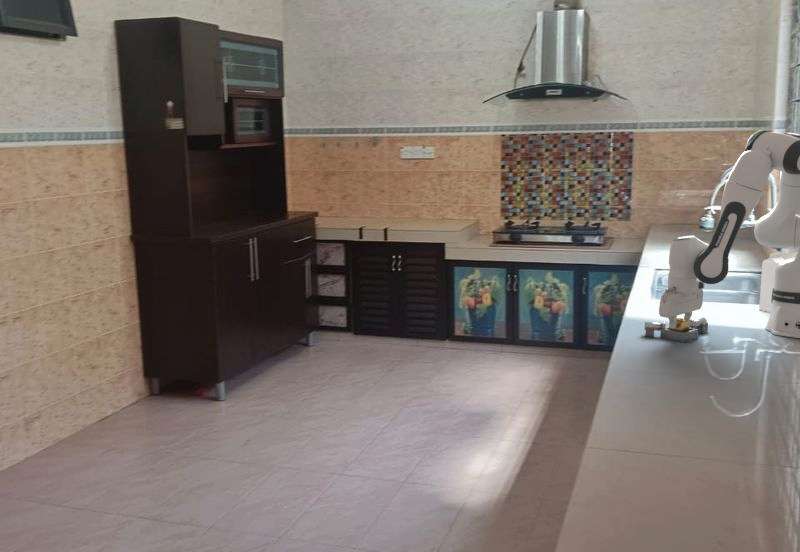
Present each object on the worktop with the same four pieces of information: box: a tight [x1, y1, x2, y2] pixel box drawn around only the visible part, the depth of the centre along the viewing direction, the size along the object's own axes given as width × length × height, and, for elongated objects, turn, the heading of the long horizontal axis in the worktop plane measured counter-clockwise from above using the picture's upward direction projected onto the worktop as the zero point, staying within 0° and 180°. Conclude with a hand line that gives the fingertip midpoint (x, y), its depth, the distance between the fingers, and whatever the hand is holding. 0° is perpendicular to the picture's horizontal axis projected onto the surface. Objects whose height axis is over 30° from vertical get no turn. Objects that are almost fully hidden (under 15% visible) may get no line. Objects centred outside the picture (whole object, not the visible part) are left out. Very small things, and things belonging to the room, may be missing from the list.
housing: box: [659, 326, 699, 344], centre depth 266 cm, size 8×8×3 cm
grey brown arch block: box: [644, 321, 667, 338], centre depth 269 cm, size 6×4×5 cm, turn 74°
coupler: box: [668, 317, 689, 333], centre depth 266 cm, size 4×4×6 cm
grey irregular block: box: [689, 317, 709, 334], centre depth 273 cm, size 8×4×5 cm, turn 129°
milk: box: [758, 251, 785, 313], centre depth 301 cm, size 6×6×22 cm
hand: (679, 326), depth 266 cm, fingers open, 5 cm apart
